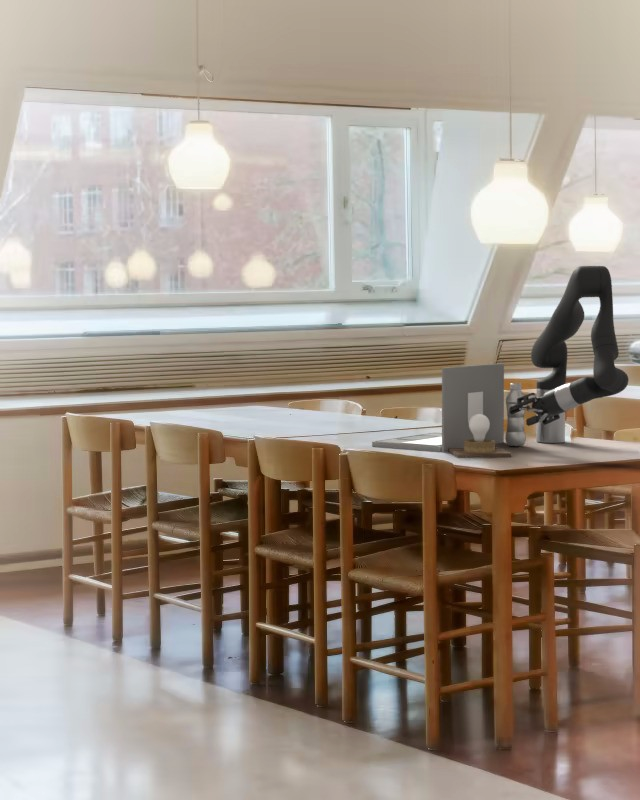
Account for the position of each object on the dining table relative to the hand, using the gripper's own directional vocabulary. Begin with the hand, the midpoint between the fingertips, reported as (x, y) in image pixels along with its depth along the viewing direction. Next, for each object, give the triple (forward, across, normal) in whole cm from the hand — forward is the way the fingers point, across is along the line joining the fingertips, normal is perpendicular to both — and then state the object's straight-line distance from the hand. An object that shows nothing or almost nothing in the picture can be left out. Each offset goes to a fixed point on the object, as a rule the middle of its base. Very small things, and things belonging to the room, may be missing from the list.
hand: (518, 417), depth 392 cm
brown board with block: (+12, +5, +11) cm, 16 cm away
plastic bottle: (+13, -16, -2) cm, 21 cm away
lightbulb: (+12, +4, +9) cm, 16 cm away
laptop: (+34, -5, -5) cm, 35 cm away
